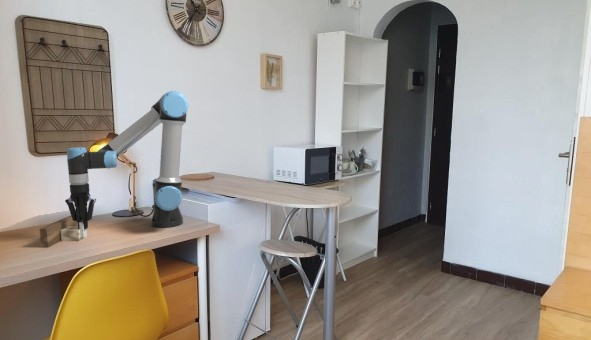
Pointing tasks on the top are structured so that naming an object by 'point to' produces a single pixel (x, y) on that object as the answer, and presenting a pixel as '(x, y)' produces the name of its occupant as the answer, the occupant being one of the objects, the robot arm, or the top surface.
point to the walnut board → (55, 231)
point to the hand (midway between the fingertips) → (83, 236)
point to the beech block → (71, 234)
